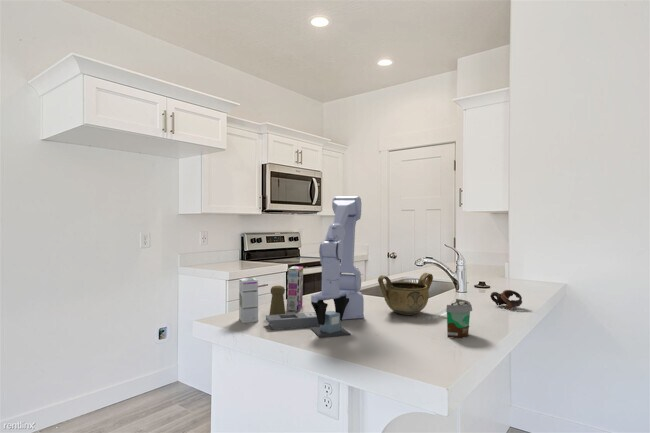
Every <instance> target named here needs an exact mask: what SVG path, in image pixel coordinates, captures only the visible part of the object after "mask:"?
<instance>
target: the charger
mask: <svg viewBox="0 0 650 433" xmlns="http://www.w3.org/2000/svg"><path fill="white" fill-rule="evenodd" d="M326 311H327V312H326V313H325V324H324V325H320V326H319V327H320V330H321V331H324V332H327V333H333V332H337V331H340V326H341V321H340V313H337V312H335V311H334V312H333V310H326Z"/></svg>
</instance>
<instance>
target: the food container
mask: <svg viewBox="0 0 650 433" xmlns="http://www.w3.org/2000/svg"><path fill="white" fill-rule="evenodd" d="M445 312H446V325H447V326H446V328H447V329H446V330H447V332H446V333H447V338H449V337H454V338H453V339H464V338H463V337H465V338H468V337H469V331H470V330H469V329H470V317H471V316H470V315H471V312H473V306H472V304H471V302H470V301H469V300H465V299H462V298H461V299H460V298H456V299H455V302H452V303H450V304H446V310H445Z"/></svg>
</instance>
